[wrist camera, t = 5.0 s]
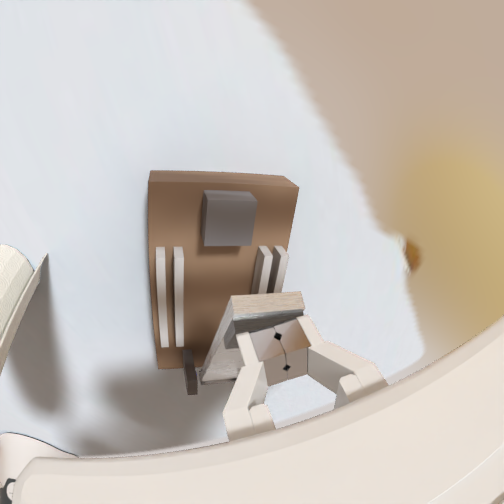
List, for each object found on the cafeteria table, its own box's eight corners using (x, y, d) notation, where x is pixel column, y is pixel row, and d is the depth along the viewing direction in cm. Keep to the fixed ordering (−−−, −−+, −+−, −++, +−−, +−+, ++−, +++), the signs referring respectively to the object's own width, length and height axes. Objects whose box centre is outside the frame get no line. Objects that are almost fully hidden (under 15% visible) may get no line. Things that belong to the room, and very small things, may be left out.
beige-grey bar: (232, 369, 25) (235, 386, 24) (198, 372, 24) (201, 390, 23) (299, 287, 13) (308, 321, 12) (230, 290, 12) (236, 329, 11)
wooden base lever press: (254, 339, 31) (273, 387, 25) (157, 346, 28) (161, 399, 22) (283, 176, 23) (322, 204, 17) (150, 170, 20) (145, 199, 14)
